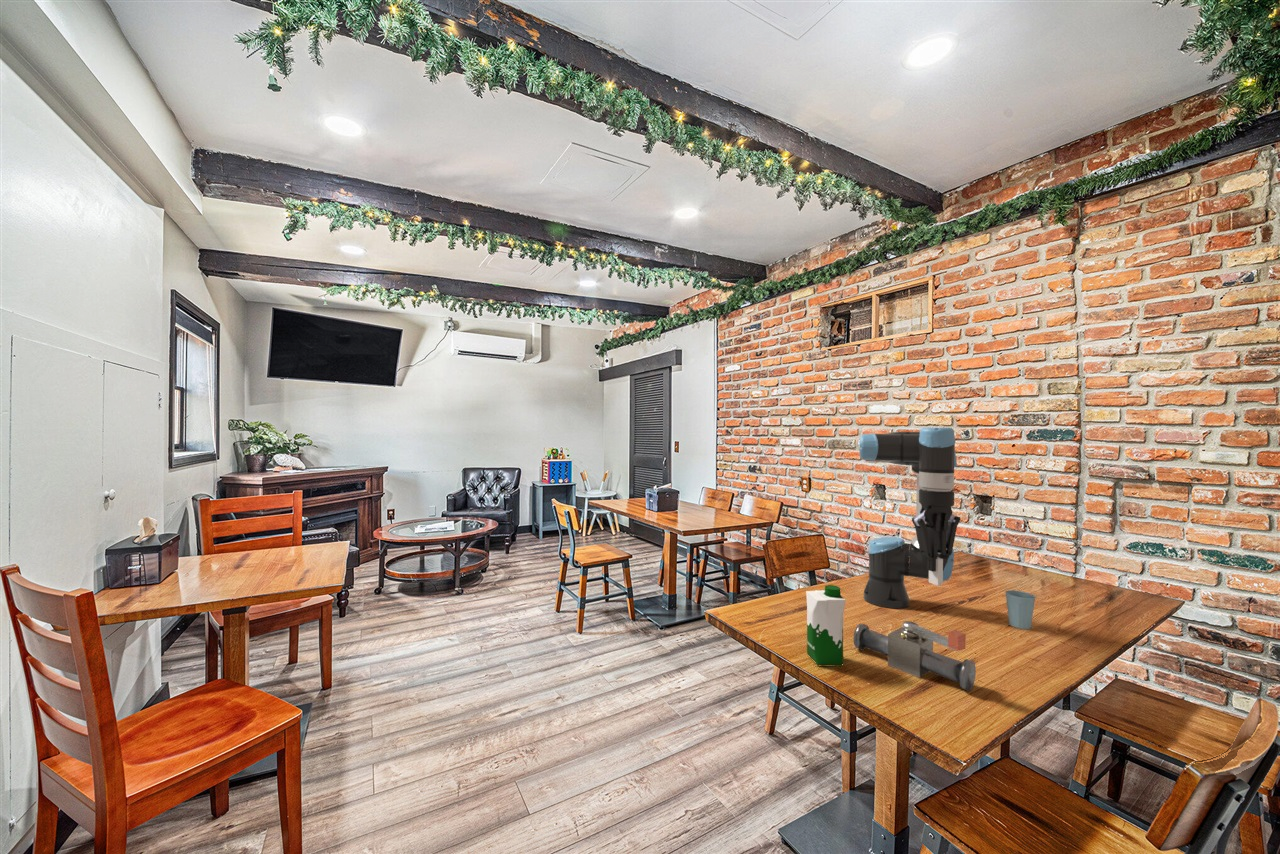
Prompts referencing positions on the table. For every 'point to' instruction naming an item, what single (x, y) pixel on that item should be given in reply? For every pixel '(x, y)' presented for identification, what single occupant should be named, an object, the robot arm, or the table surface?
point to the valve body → (915, 655)
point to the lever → (938, 636)
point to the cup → (1020, 608)
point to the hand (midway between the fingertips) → (935, 583)
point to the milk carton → (825, 625)
